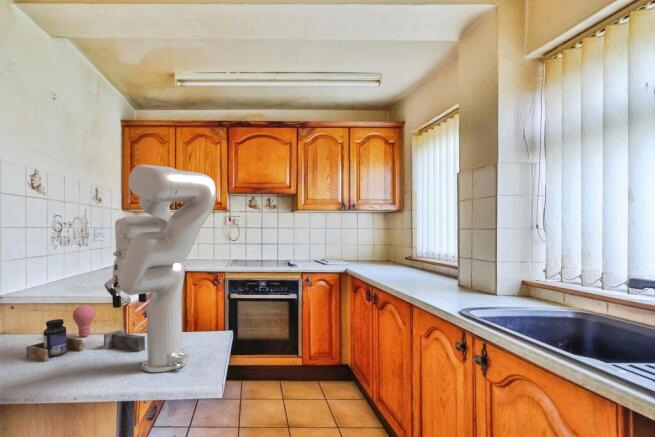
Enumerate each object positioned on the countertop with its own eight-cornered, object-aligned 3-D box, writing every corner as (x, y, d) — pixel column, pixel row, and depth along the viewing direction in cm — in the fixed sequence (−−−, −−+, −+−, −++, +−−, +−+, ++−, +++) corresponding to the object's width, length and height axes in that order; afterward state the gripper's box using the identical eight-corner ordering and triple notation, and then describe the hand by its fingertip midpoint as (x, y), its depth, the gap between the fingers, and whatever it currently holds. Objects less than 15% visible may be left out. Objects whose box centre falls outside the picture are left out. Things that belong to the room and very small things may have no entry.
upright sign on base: (150, 347, 130) (150, 333, 130) (132, 354, 123) (132, 339, 124) (122, 343, 136) (122, 329, 136) (104, 349, 129) (103, 334, 129)
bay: (82, 350, 128) (82, 339, 129) (44, 361, 118) (44, 350, 118) (64, 346, 133) (64, 336, 133) (26, 357, 122) (26, 346, 122)
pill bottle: (70, 351, 128) (70, 318, 128) (59, 357, 122) (58, 322, 122) (51, 351, 128) (51, 318, 128) (39, 358, 122) (38, 323, 122)
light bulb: (85, 339, 140) (84, 307, 140) (68, 339, 141) (67, 307, 142) (99, 334, 147) (99, 303, 147) (83, 333, 148) (82, 302, 149)
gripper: (112, 256, 121) (113, 310, 121) (157, 252, 137) (159, 300, 136) (96, 256, 125) (98, 309, 124) (142, 253, 140) (144, 299, 139)
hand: (130, 304), depth 130 cm, fingers open, 9 cm apart
